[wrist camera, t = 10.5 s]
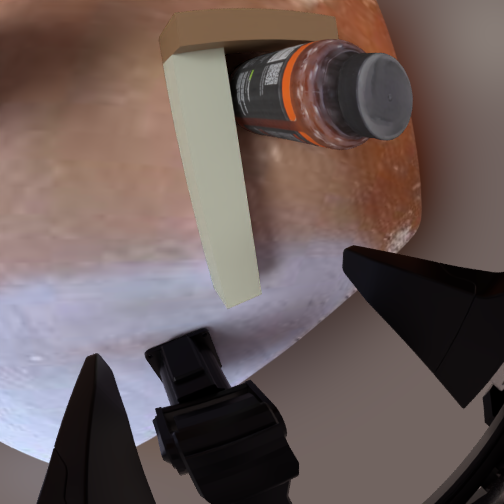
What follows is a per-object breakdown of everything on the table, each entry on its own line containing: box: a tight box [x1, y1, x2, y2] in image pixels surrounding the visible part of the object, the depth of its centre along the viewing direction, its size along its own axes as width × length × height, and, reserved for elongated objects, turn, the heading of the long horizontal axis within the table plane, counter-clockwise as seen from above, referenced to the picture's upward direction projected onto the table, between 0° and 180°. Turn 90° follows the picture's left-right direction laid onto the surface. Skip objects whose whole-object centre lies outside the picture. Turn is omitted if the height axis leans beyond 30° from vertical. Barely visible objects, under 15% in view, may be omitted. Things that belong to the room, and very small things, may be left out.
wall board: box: [159, 8, 339, 309], centre depth 18 cm, size 20×10×5 cm, turn 9°
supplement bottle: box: [229, 39, 413, 150], centre depth 14 cm, size 6×6×11 cm
